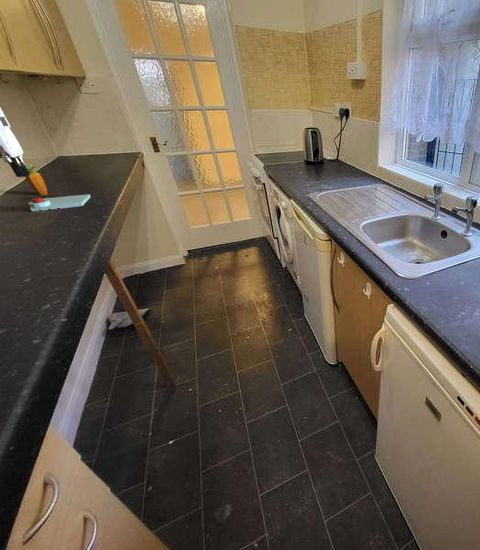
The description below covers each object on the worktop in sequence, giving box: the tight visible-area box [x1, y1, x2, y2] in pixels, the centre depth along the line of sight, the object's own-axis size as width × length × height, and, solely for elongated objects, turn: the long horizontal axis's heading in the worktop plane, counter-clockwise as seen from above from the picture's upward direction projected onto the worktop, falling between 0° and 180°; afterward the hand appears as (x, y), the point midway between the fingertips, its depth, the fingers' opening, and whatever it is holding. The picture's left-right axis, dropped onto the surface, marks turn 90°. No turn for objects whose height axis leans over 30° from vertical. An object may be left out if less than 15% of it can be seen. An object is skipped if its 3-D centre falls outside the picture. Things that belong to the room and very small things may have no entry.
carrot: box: [24, 163, 48, 199], centre depth 128 cm, size 5×5×15 cm
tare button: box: [31, 197, 44, 203], centre depth 119 cm, size 3×3×2 cm
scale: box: [27, 194, 92, 212], centre depth 125 cm, size 16×14×3 cm
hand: (23, 176), depth 114 cm, fingers closed
